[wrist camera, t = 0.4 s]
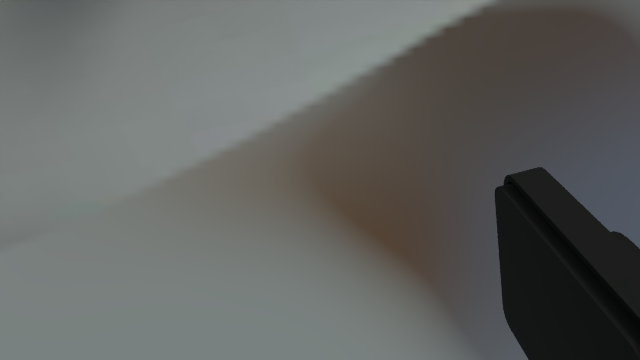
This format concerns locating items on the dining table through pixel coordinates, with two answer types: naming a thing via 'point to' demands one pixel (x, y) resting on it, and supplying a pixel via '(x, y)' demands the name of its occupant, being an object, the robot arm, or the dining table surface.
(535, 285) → the robot arm
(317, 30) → the dining table surface
